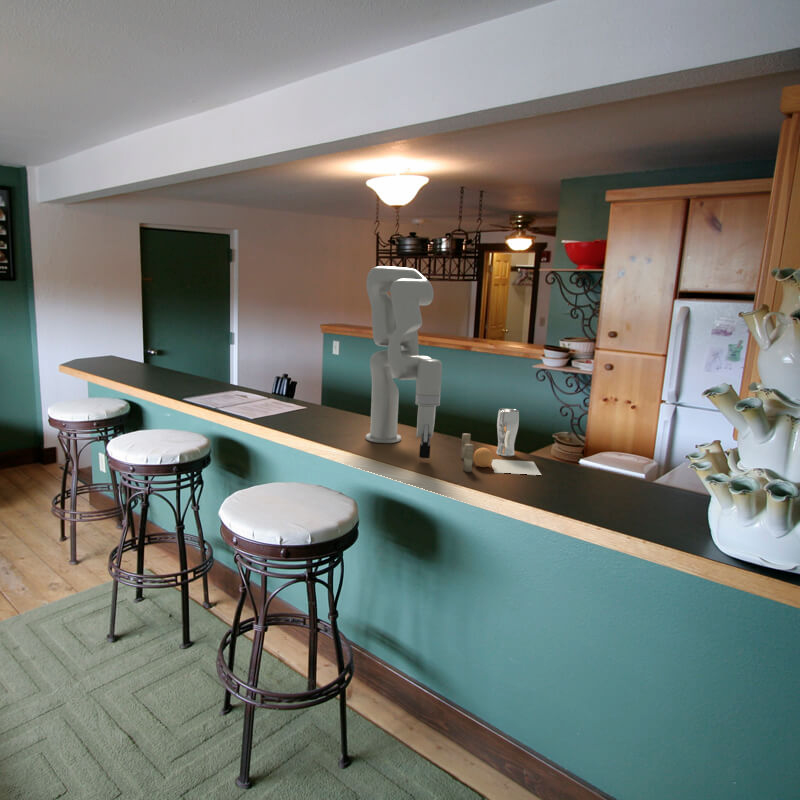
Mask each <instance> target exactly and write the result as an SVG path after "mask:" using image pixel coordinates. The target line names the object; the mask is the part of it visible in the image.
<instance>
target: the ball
mask: <svg viewBox="0 0 800 800" xmlns="http://www.w3.org/2000/svg"><path fill="white" fill-rule="evenodd" d="M493 459H494V455H493V452H492V451H491V449H489V448H487V447H480V448H479V447H478V449H476V450H475V452H473V462H474V463H475V465H476V466H478V467H481V468H486V467H487V468H488V467H489V466H490V465H491V463H492V461H493Z"/></svg>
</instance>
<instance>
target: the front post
mask: <svg viewBox="0 0 800 800" xmlns="http://www.w3.org/2000/svg"><path fill="white" fill-rule="evenodd" d="M473 457H474V444H473V443H470V444H465V448H464V459H463V464H462V465H463V466H462V471H463V472H464V471H465V473H471V472H472V470H473V469H472V468H473V460H474V458H473Z"/></svg>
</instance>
